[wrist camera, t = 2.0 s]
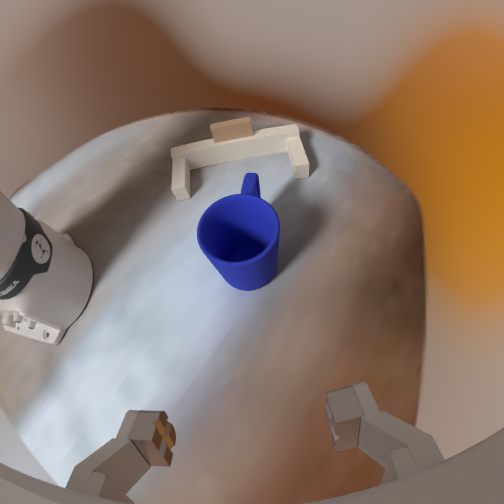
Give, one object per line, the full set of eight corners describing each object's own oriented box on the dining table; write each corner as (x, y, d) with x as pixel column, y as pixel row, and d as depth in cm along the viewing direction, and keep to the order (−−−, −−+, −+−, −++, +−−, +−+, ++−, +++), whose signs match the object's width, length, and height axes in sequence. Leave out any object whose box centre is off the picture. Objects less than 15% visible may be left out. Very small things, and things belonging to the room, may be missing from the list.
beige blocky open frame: (177, 201, 45) (162, 171, 38) (178, 164, 48) (165, 134, 42) (308, 177, 44) (310, 143, 38) (296, 142, 47) (296, 109, 41)
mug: (289, 217, 41) (287, 168, 32) (277, 302, 36) (273, 269, 27) (230, 212, 42) (215, 165, 34) (212, 294, 37) (187, 260, 28)
